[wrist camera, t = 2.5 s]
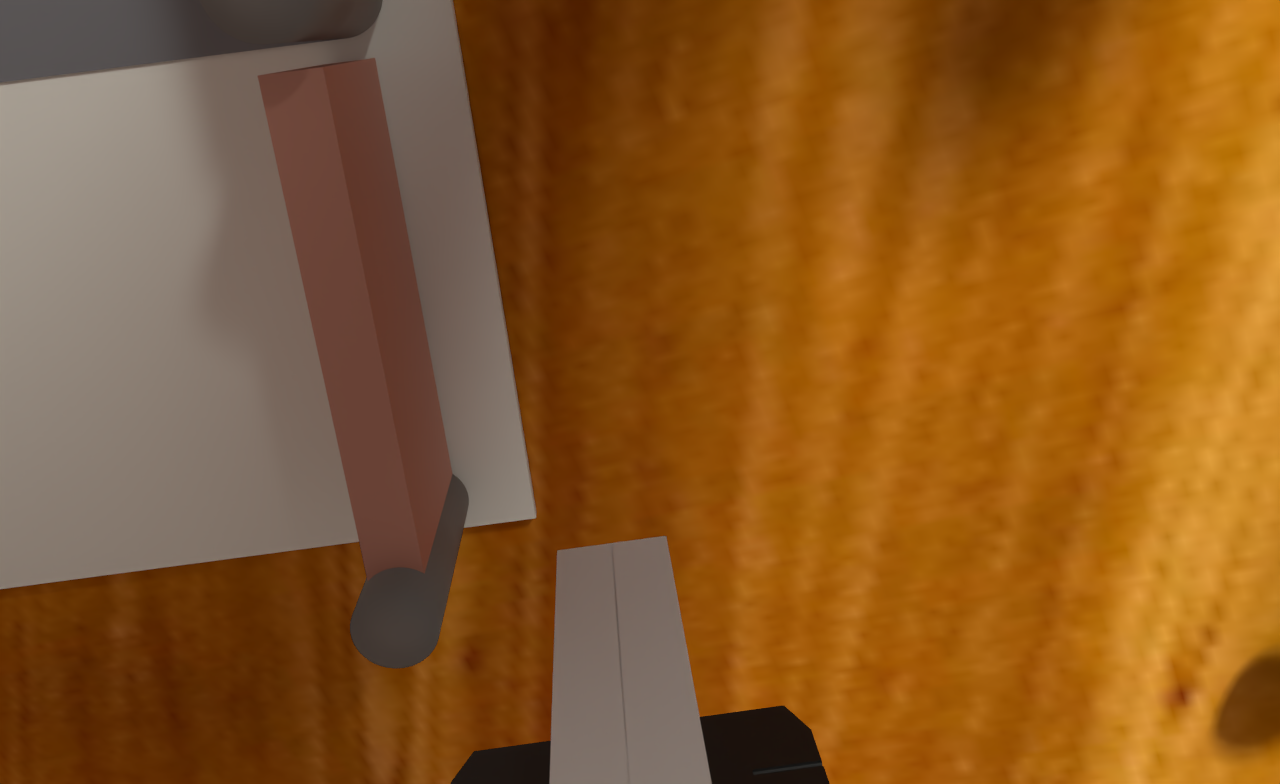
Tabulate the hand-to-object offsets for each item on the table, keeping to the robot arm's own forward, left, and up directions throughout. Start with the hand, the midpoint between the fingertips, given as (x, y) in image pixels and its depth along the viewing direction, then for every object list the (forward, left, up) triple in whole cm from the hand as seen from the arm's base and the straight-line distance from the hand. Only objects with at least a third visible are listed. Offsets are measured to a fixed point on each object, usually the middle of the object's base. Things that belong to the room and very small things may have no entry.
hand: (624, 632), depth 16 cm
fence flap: (-2, -5, -14) cm, 14 cm away
